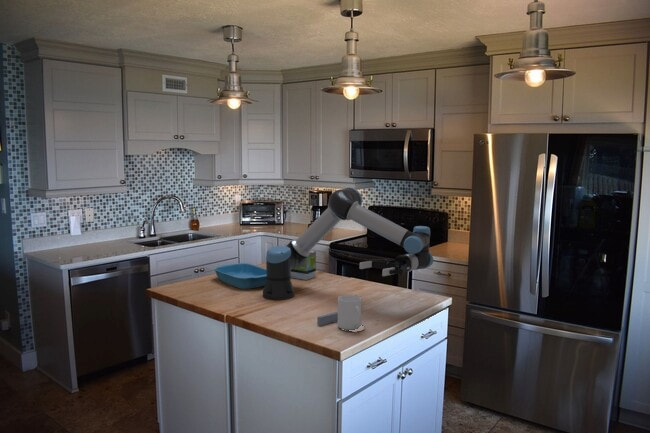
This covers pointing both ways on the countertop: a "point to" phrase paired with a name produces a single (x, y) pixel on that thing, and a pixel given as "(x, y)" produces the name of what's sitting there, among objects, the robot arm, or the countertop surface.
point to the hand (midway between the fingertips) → (371, 269)
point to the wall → (327, 318)
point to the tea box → (306, 268)
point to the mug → (349, 312)
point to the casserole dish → (242, 275)
